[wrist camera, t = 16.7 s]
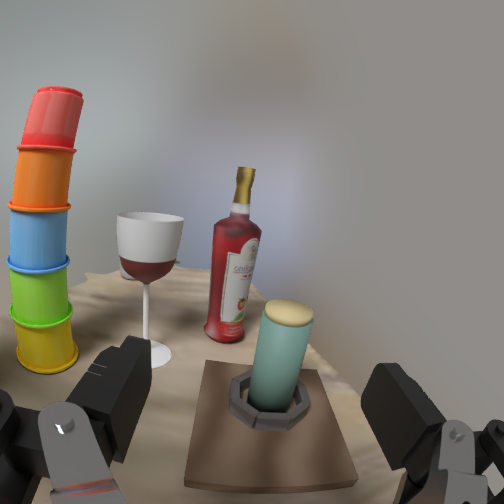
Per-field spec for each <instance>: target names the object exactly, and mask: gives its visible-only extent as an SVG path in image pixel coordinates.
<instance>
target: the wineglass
mask: <svg viewBox="0 0 504 504" xmlns="http://www.w3.org/2000/svg"><path fill="white" fill-rule="evenodd" d="M183 222H184V219H183V218H181V217H178V216H173V215H167V214H159V213H147V212H125V213H119V214H118V215H117V242H118V251H119V257H120V262H121V265H122V267H123V269H124V271H125V272H126V273H127V274H128V275H130V276H131V277H133V278H135V279H137V280H139V281H141V282H143V283H144V292H143V333H144V339H147V340H149V284H150V283H151V282H153V281H155V280H157V279H160V278H162V277H163V276H165V275H166V274H167V273H169V272H170V270H171V269H172V268H173V266H174V263H175V260H176V257H177V253H178V249H179V245H180V240H181V235H182V229H183ZM150 341H151V340H150ZM170 358H171V351H170V350H169V349H168V347H166V346H165V345H163V344H161V343H159V342H156V341H151V366H152V368H156V367H160V366H162V365H165V364H166V363H167V362H168V361H169V360H170Z"/></svg>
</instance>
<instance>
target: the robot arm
mask: <svg viewBox="0 0 504 504" xmlns="http://www.w3.org/2000/svg"><path fill="white" fill-rule="evenodd" d="M151 380H152V366H151V341H150V340H147V339H143V338H138V337H134V336H130V335H129V336H127V337H126V339H125V340H124V342H123V343H122V345H121V346H120V348H118V347H114V346H111V347H109V348H107V349H106V350H104V351H102V352H100V354H99V355H98V356H97V358H96V359H95V360H94V362H93V364H91V366H90V367H89V368H88V371H87V372H86V373H85V374H84V375H83V377H82V378H81V380H80V381H79V382H78V384H77V385H76V387H75V388H74V390H73V391H72V392H71V394H70V395H69V397H68V398H67V400H66V401H65V402H54V403H51V404H49V405H47V406H45V407H44V408H43V409H42V410H41V411H37V410H32V409H27V408H22V407H17V406H15V405H14V403H13V401H12V399H11V397H10V395H9V394H8V393H7V392H5V391H4V390H2V389H0V504H31V503H32V500H33V498H34V495H35V493H36V490H37V488H38V485H39V483H40V480H41V478H42V477H46V478H51V481H52V485H53V491H51V492H50V496H51V501H52V504H127V502H126V500H125V498H124V496H123V495H122V493H121V491H120V489H119V487H118V485H117V484H116V482H115V480H114V479H113V477H112V474H111V472H110V470H109V467H110V464H111V462H112V460H114V461H117V462H120V463H123V462H124V459H125V456H126V453H127V450H128V447H129V445H130V442H131V439H132V436H133V434H134V431H135V428H136V425H137V423H138V420H139V417H140V415H141V412H142V409H143V407H144V404H145V402H146V399H147V396H148V394H149V391H150V387H151ZM361 408H362V411H363V413H364V415H365V417H366V419H367V421H368V423H369V425H370V427H371V429H372V431H373V433H374V435H375V437H376V439H377V441H378V443H379V445H380V447H381V449H382V451H383V453H384V455H385V457H386V459H387V461H388V463H389V465H390V467H391V469H392V471H393V470H397V469H401V468H404V467H405V468H406V471H405V472H404V474H403V475H402V477H401V481H400V484H399V487H398V490H397V493H396V496H395V499H394V502H393V504H504V488H503V489H502V491H501V492H500V493H499V494H497V495H496V496H494V495H493V493H492V492H491V490H490V488H489V486H488V481H487V477H486V476H484V475H481V474H482V473H483V472H484V471H485V470H486V469H487V468H488V467H489V466H490V465H491V464H492V462H494V464H495V465H496V467H497V468H498V470H499V472H500V473H501V475H502V476H503V477H504V422H503V421H501V420H491V421H490V422H489V423H488V424H487V426H486V427H485V429H484V430H483V431H476V432H473V431H472V430H471V429H470V427H469V426H468V425H466V424H465V423H463V422H461V421H458V420H450V421H447V420H446V419H445V418H444V416H443V415H442V414H441V413H440V411H439V410H438V409H437V407H436V406H435V405H434V403H433V402H432V401H431V400H430V398H428V396H427V395H426V393H425V392H423V390H422V388H421V387H420V386H419V385H418V383H417V382H416V381H414V380H413V379H412V378H410V377H409V376H408V375H407V374H406V373H405V372H404V371H403V369H402V368H401V367H400V365H399V364H397V363H379V364H377V365H376V366H375V368H374V370H373V372H372V374H371V377H370V379H369V381H368V383H367V385H366V387H365V389H364V391H363V393H362V396H361Z"/></svg>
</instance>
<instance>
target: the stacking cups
mask: <svg viewBox="0 0 504 504" xmlns="http://www.w3.org/2000/svg"><path fill="white" fill-rule="evenodd" d="M50 88H52V90H49V89H50ZM82 96H83V95H82V93H80V92H79V91H77V90H74V89H71V88H67V87H59V86H49V87H42V88H40V89H38V92H37V93H36V94H34V96H33V99H32V102H31V106H30V109H29V113H28V116H27V120H26V124H25V128H24V132H23V137H22V142H21V145H18V146H17V149H19V153H18V159H17V165H16V171H15V179H14V187H13V197H12V201H11V202H9V203H8V207H9V208H10V209H11V213H10V255H9V256H8V257H7V259H6V264H7V266H8V267H9V270H10V284H11V295H12V303H11V305H10V308H9V313H10V316H11V318H12V319H13V320H14V324H15V330H16V335H17V340H18V346H17V349H16V354H17V358H18V360H19V361H20V363H21V364H22V365H23V366H24V367H26V368H27V369H29V370H31V371H33V372H37V373H42V374H51V373H57V372H61V371H63V370H65V369H67V368H69V367H70V366H72V365H73V364H74V362H75V361H76V360H77V357H78V347H77V345H76V343H75V342H74V341H73V340H72V332H71V324H70V317H71V316H72V314H73V306H72V304H71V303H70V302H69V301H68V292H67V266H68V265H69V263H70V259H69V257H68V256H67V255H66V229H67V227H66V226H67V211H68V210H69V209H70V208H71V205H70V204H69V203H67V199H68V189H69V181H70V173H71V166H72V160H73V154H74V153H75V152H76V151H77V150H76V149H73V147H74V141H75V136H76V132H77V127H78V122H79V118H80V114H81V109H82V106H83V99H82Z"/></svg>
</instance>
